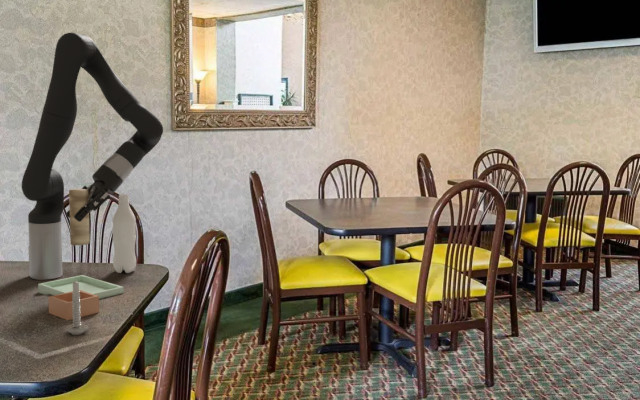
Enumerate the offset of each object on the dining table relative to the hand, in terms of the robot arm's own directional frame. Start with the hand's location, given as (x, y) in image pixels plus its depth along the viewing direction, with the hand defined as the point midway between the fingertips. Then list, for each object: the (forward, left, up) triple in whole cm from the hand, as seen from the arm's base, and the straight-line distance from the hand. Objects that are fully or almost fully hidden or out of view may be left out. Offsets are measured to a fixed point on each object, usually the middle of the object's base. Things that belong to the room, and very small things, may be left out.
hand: (72, 218), depth 175 cm
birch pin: (0, +2, -7) cm, 8 cm away
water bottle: (-13, +26, -22) cm, 36 cm away
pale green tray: (0, +2, -22) cm, 22 cm away
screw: (+30, -18, -22) cm, 42 cm away
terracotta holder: (+16, -10, -22) cm, 29 cm away
